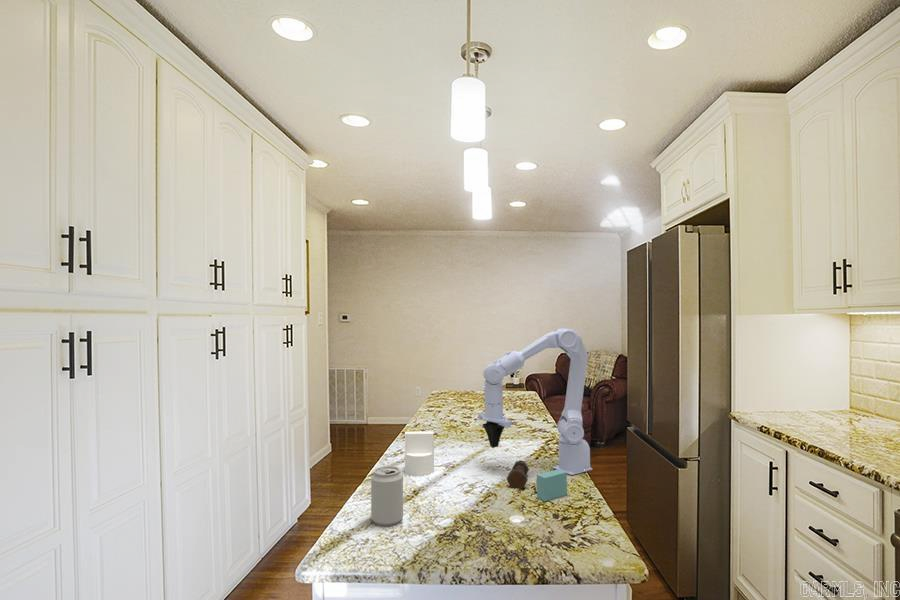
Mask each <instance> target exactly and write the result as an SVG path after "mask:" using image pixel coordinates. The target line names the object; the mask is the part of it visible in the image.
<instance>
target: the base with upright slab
mask: <svg viewBox="0 0 900 600" xmlns="http://www.w3.org/2000/svg"><path fill="white" fill-rule="evenodd" d="M434 435H435V434H434V431H433V430H426V431H425V430H420V431H419V430H418V431H405V432H404V473H405V474H406V475H407V474H408V475H407V476H410V475H412V476H411V477H418V476H419V477H425V476H424V475H427V476H430V475H432V474H433V473H434V472H435V444H434V443H435V438H434ZM431 473H432V474H431ZM429 474H430V475H429Z"/></svg>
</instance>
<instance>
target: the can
mask: <svg viewBox="0 0 900 600" xmlns="http://www.w3.org/2000/svg"><path fill="white" fill-rule="evenodd" d="M370 480H371V481H370V483H371V484H370V485H371V486H370V491H371V492H370V494H371V495H370V496H371V497H370V499H371V500H370V502H371V504H370V510H371V511H370V513H371V514H370V515H371V516H370V517H371V520H372V521H373V522H374V523H375V524H376V525H378V526H382V527H389V526H393V525H396V524H398V523H400V521H401V520H402V519H403V517H404V475H403V473H401V469H400V468H399V467H398V466H396V465H395V466H393V465H383V466H379V467H376V468H375V469H374V470H373V474H372V475H371V477H370Z"/></svg>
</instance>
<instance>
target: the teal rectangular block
mask: <svg viewBox="0 0 900 600" xmlns="http://www.w3.org/2000/svg"><path fill="white" fill-rule="evenodd" d="M535 483H536V498H537V499H538V500H541V501H543V502H547V501H551V500H555V499H557V498H561V497H565V496H567V495H568V474H567V472H565V471H562V470H559V469H557V470H556V469H554V470H550V471H547V472H542V473H539V474H536V479H535Z"/></svg>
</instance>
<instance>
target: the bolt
mask: <svg viewBox="0 0 900 600" xmlns="http://www.w3.org/2000/svg"><path fill="white" fill-rule="evenodd" d="M529 470H530V468H529V467H528V464H527V463H526V462H525V461H524V460H516V462H515V463H514V464H513V466H512V468H511V470H510V472H509V474H508V475H507V477H506V482H507V483H508V485H509V486H510V488H512V489H516V488H517V489H519V490H522V489H524V487H525V486H526V484H527V482H528V480H529V479H528V477H527V474H528V472H529Z"/></svg>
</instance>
